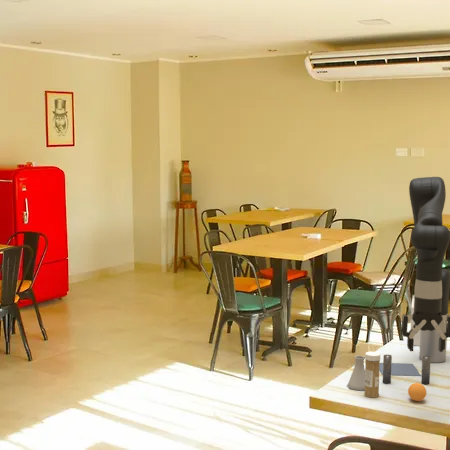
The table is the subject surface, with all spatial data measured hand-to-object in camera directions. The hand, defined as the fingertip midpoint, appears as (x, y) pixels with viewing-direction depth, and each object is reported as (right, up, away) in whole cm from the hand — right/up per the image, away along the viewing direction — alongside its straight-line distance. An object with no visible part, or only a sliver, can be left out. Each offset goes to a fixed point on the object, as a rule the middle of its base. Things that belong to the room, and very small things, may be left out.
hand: (425, 350), depth 204 cm
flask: (-15, -16, +23) cm, 32 cm away
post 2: (+8, -15, +27) cm, 32 cm away
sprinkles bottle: (-12, -17, +16) cm, 26 cm away
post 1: (-5, -15, +28) cm, 32 cm away
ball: (+1, -14, +11) cm, 18 cm away
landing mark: (+2, -14, +41) cm, 44 cm away
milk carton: (+18, -10, +73) cm, 76 cm away
